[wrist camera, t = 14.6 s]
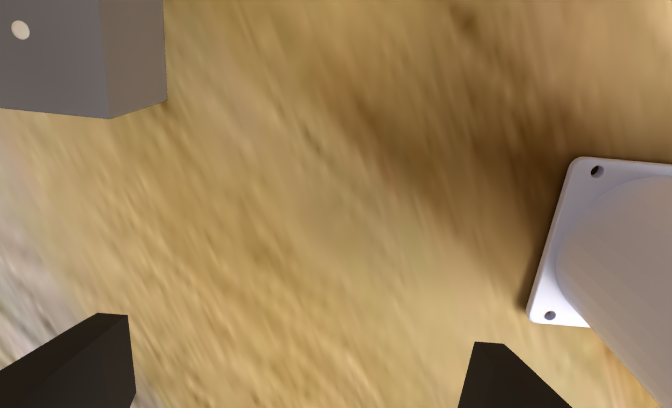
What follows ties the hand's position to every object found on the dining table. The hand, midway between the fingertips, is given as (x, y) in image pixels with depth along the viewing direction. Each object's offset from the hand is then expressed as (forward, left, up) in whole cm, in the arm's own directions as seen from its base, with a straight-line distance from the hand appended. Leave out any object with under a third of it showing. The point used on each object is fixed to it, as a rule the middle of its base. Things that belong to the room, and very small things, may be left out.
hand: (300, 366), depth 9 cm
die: (+9, -6, -10) cm, 15 cm away
